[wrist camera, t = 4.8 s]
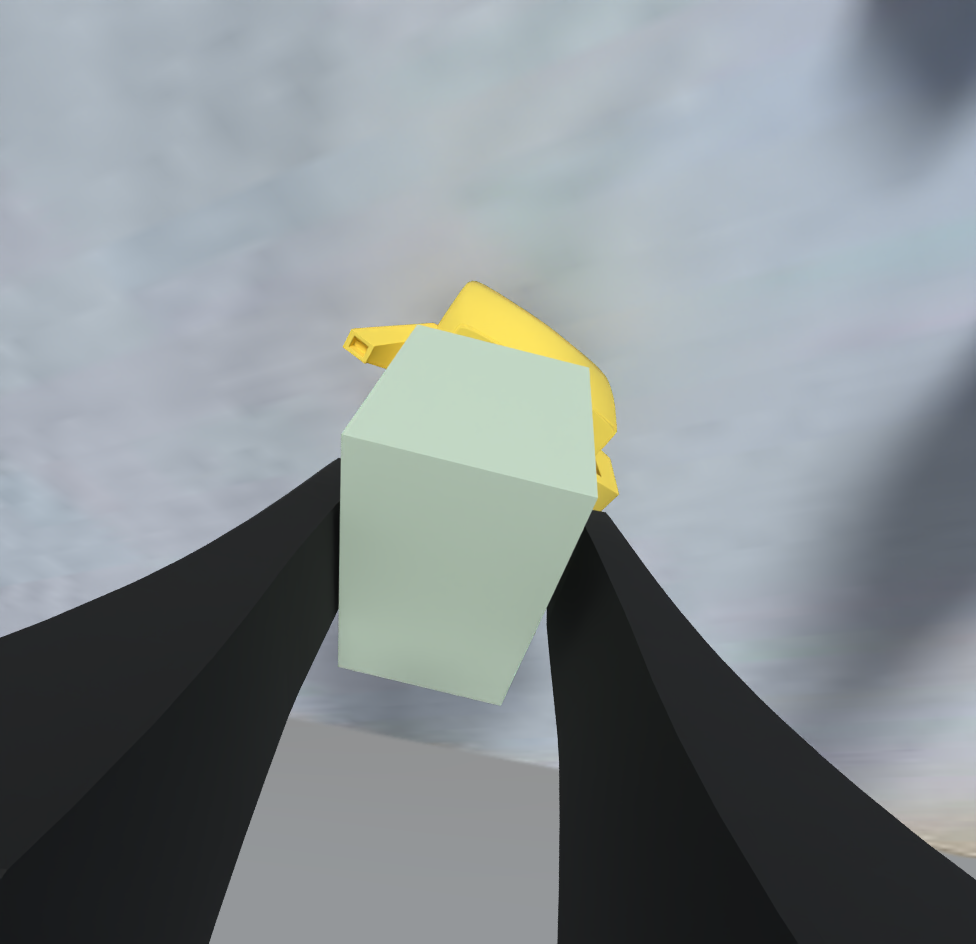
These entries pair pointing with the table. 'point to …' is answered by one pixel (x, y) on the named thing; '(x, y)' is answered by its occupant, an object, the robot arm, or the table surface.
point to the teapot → (510, 327)
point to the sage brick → (460, 510)
